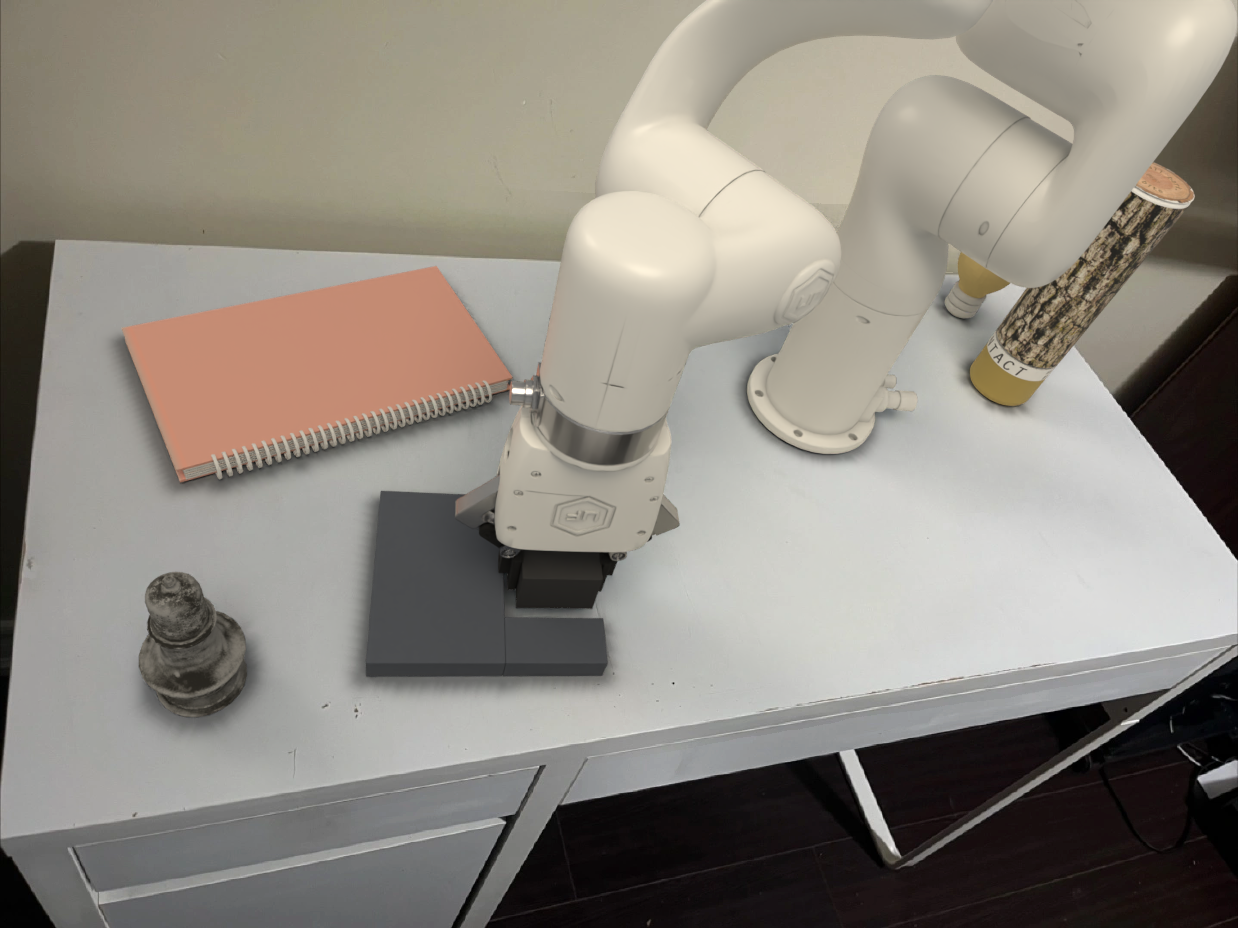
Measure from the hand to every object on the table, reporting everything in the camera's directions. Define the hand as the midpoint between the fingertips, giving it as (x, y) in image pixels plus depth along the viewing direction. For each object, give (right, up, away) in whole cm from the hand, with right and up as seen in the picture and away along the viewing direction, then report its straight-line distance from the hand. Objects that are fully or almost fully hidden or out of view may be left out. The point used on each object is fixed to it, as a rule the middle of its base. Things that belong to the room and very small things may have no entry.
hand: (553, 572), depth 62 cm
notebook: (-20, +15, +11) cm, 27 cm away
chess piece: (-22, -6, -8) cm, 24 cm away
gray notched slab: (-5, -1, +1) cm, 5 cm away
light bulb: (+44, +25, +37) cm, 62 cm away
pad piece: (0, 0, 0) cm, 0 cm away
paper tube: (+45, +16, +29) cm, 56 cm away
